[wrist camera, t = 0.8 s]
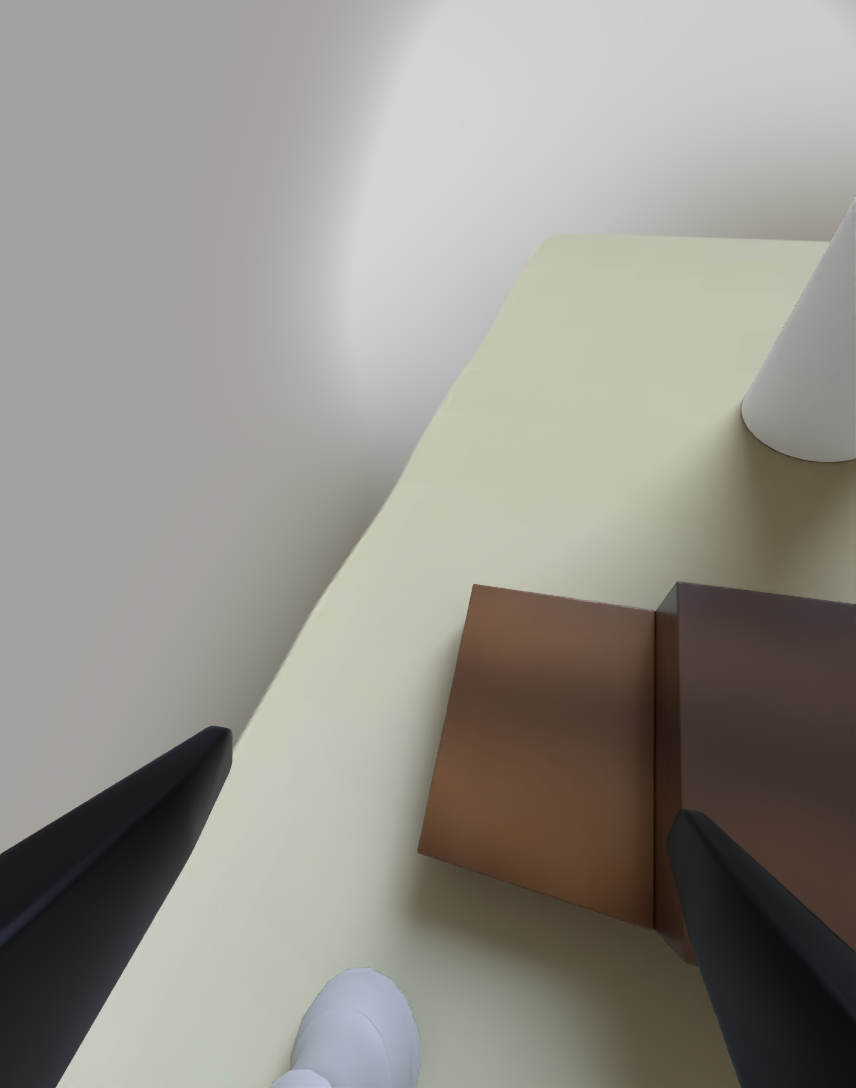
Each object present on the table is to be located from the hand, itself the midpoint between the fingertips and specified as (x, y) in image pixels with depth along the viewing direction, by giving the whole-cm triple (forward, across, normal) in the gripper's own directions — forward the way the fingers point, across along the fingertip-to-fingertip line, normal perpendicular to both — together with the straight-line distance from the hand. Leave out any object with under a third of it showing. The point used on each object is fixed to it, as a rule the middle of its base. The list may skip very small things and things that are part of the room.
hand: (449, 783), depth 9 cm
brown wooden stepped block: (+9, -9, +6) cm, 14 cm away
